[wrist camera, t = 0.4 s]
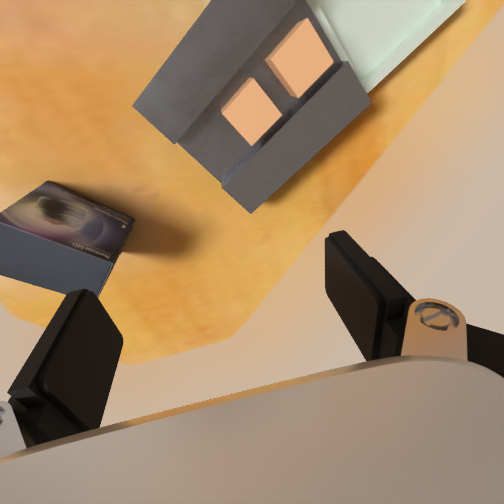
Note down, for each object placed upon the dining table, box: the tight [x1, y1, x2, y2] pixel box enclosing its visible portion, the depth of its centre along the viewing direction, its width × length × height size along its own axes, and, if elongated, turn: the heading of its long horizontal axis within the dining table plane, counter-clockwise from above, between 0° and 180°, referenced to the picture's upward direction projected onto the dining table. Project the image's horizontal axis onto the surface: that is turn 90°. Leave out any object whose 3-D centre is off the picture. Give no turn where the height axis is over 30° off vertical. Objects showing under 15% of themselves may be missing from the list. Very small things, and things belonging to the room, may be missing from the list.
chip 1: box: [221, 78, 282, 146], centre depth 26 cm, size 4×4×3 cm
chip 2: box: [265, 18, 334, 98], centre depth 25 cm, size 4×4×3 cm
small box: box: [0, 181, 135, 298], centre depth 31 cm, size 11×6×10 cm, turn 57°
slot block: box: [132, 0, 372, 214], centre depth 28 cm, size 17×16×4 cm
